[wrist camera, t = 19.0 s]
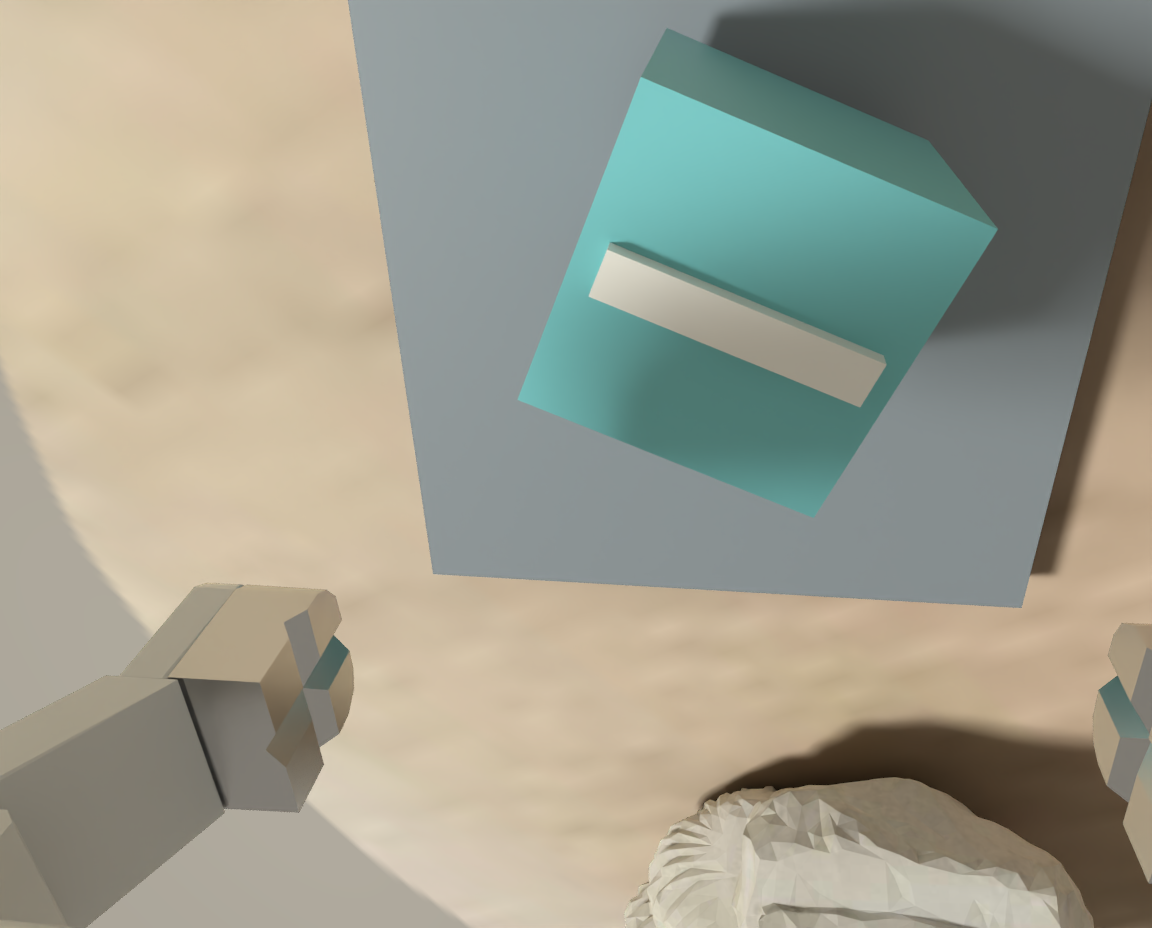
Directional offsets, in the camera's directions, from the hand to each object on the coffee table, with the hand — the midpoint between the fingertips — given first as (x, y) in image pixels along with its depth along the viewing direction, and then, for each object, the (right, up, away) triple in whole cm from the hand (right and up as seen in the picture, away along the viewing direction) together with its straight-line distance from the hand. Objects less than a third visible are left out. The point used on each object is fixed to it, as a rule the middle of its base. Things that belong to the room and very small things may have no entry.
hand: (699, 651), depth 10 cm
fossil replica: (+7, -9, +18) cm, 22 cm away
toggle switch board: (+2, +7, +9) cm, 12 cm away
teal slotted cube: (+2, +6, +7) cm, 10 cm away
